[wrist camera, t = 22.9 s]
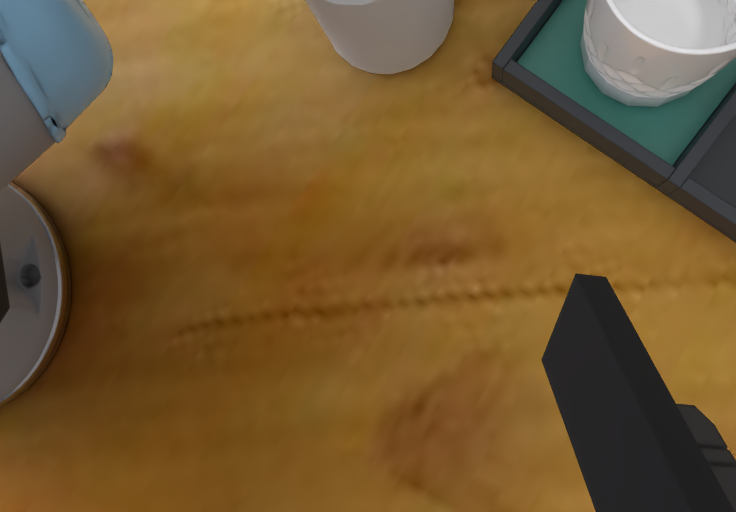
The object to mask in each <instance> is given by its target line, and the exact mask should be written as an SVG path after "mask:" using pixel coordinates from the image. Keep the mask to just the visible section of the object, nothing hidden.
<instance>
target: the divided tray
mask: <svg viewBox="0 0 736 512" xmlns="http://www.w3.org/2000/svg"><path fill="white" fill-rule="evenodd" d="M586 2H587V0H538V1H537V2H536V3H535V5H534V6H533V7H532V9H531V10H530V11H529V13H528V14H527V15H526V17H525V18H524V19H523V21H522V22H521V23H520V25H519V26H518V28H517V29H516V30H515V32H514V33H513V34H512V36H511V37H510V38H509V40H508V41H507V42H506V44H505V45H504V46H503V48H502V49H501V50H500V52H499V53H498V55H497V56H496V57H495V59H494V60H493V63H492V78H493V79H495V80H496V81H498V82H499V83H501V84H502V85H503V86H505V87H506V88H508V89H509V90H511V91H512V92H514V93H515V94H517V95H518V96H520V97H521V98H523V99H524V100H526V101H527V102H529V103H530V104H532V105H533V106H535V107H536V108H538V109H539V110H541V111H542V112H543V113H545V114H546V115H548V116H549V117H551V118H552V119H554V120H555V121H557V122H558V123H560V124H561V125H563V126H564V127H566V128H567V129H569V130H570V131H572V132H573V133H575V134H576V135H578V136H579V137H581V138H582V139H583V140H585V141H586V142H588V143H589V144H591V145H592V146H594V147H595V148H597V149H598V150H600V151H601V152H603V153H604V154H606V155H607V156H609V157H610V158H612V159H613V160H615V161H616V162H618V163H619V164H621V165H622V166H624V167H625V168H626V169H628V170H629V171H631V172H632V173H634V174H635V175H637V176H638V177H640V178H641V179H643V180H644V181H646V182H647V183H649V184H650V185H652V186H653V187H655V188H656V189H658V190H659V191H661V192H662V193H664V194H665V195H666V196H668V197H669V198H671V199H672V200H674V201H675V202H677V203H678V204H680V205H681V206H683V207H684V208H686V209H687V210H689V211H690V212H692V213H693V214H695V215H696V216H698V217H699V218H701V219H702V220H704V221H705V222H706V223H708V224H709V225H711V226H712V227H714V228H715V229H717V230H718V231H720V232H721V233H723V234H724V235H726V236H727V237H729V238H730V239H732V240H733V241H735V242H736V59H735V60H733V61H732V62H731V63H730V64H728V65H727V66H726V67H725V68H723V69H722V70H720V71H719V72H717V73H716V74H715V75H713V76H712V77H711V78H710V79H708V80H707V81H705V82H703V83H702V84H700V85H699V86H697V87H695V88H694V89H693V90H692V91H691V92H689V93H688V94H687V95H685V96H683V97H681V98H678V99H676V100H673V101H671V102H668V103H666V104H663V105H661V106H659V107H645V106H627V105H625V104H623V103H621V102H619V101H617V100H615V99H613V98H611V97H609V96H607V95H604V94H603V93H601V92H600V90H599V89H598V88H597V86H596V85H595V84H594V82H593V81H592V80H591V78H590V77H589V76H588V75H587V73H586V72H585V69H584V64H583V58H582V52H581V47H580V41H581V37H582V33H583V27H584V14H585V8H586Z"/></svg>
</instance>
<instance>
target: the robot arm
mask: <svg viewBox="0 0 736 512" xmlns="http://www.w3.org/2000/svg"><path fill="white" fill-rule="evenodd" d="M112 68H113V54H112V49H111V46H110V43H109V41H108V39H107V37H106V35H105V33H104V31H103V30H102V28H101V27H100V25H99V23H98V22H97V20H96V19H95V17H94V16H93V14H92V13H91V12H90V10H89V9H88V7H87V6H86V5H85V3H84V2H83V0H0V406H2V405H4V404H6V403H8V402H9V401H11V400H13V399H14V398H16V397H17V396H18V395H20V394H21V393H22V392H24V391H25V390H26V389H27V388H28V387H30V386H31V385H32V383H33V382H34V381H35V380H36V379H37V378H38V377H39V376H40V375H41V373H42V372H43V371H44V370H45V368H46V367H47V365H48V364H49V362H50V361H51V359H52V358H53V356H54V354H55V352H56V350H57V348H58V346H59V344H60V341H61V339H62V336H63V333H64V330H65V327H66V324H67V319H68V314H69V309H70V301H71V276H70V268H69V262H68V258H67V254H66V250H65V247H64V244H63V241H62V239H61V236H60V234H59V232H58V230H57V228H56V226H55V224H54V223H53V221H52V219H51V218H50V216H49V215H48V214H47V212H46V211H45V209H44V208H43V207H42V206H41V205H40V204H39V203H38V202H37V201H36V200H35V199H34V198H33V197H32V196H31V195H30V194H29V193H27V192H26V191H25V190H23V189H22V188H21V187H19V186H17V185H16V184H14V183H12V182H11V181H12V180H14V179H15V178H16V177H17V176H18V175H19V174H20V173H21V172H23V171H24V170H25V169H26V168H27V167H28V166H29V165H30V164H31V163H33V162H34V161H35V160H36V159H37V158H38V157H39V156H40V155H42V154H43V153H44V152H45V151H46V150H47V149H48V148H49V147H51V146H52V145H53V144H54V143H55V142H56V143H59V142H61V141H62V140H63V138H64V137H65V135H66V128H67V127H68V126H69V125H70V124H71V123H72V122H73V121H74V120H75V119H76V118H77V117H78V116H79V115H80V114H81V113H82V112H83V111H84V110H85V109H86V108H87V107H88V106H89V105H90V104H91V103H92V102H93V101H94V100H95V99H96V98H97V97H98V96H99V95H100V94H101V93H102V92H103V91H104V89H105V88H106V86H107V84H108V82H109V81H110V78H111V75H112ZM542 363H543V365H544V368H545V371H546V374H547V377H548V379H549V382H550V385H551V388H552V391H553V393H554V396H555V399H556V402H557V405H558V407H559V410H560V413H561V416H562V418H563V421H564V424H565V427H566V430H567V432H568V435H569V438H570V441H571V444H572V446H573V449H574V452H575V455H576V457H577V460H578V463H579V466H580V469H581V471H582V474H583V477H584V480H585V483H586V485H587V488H588V491H589V494H590V497H591V499H592V502H593V505H594V508H595V510H596V512H736V460H735V459H734V457H733V455H732V454H731V452H730V451H729V450H727V445H726V444H725V442H724V440H723V439H722V437H721V435H720V433H719V432H718V430H717V428H716V427H715V425H714V424H713V423H712V422H711V421H710V420H709V419H708V418H707V417H706V416H705V415H704V414H703V413H702V412H700V411H699V410H698V409H697V408H696V407H695V406H694V405H685V404H676V403H675V401H674V400H673V398H672V396H671V394H670V392H669V391H668V389H667V387H666V385H665V383H664V381H663V380H662V378H661V376H660V374H659V372H658V370H657V369H656V367H655V365H654V363H653V361H652V360H651V358H650V356H649V354H648V352H647V350H646V349H645V347H644V345H643V343H642V341H641V340H640V338H639V336H638V334H637V332H636V330H635V329H634V327H633V325H632V323H631V321H630V320H629V318H628V316H627V314H626V312H625V310H624V309H623V307H622V305H621V303H620V301H619V300H618V298H617V296H616V294H615V292H614V290H613V289H612V287H611V285H610V283H609V281H608V279H607V278H606V277H601V276H592V275H584V274H575V277H574V279H573V282H572V284H571V287H570V289H569V292H568V294H567V297H566V299H565V302H564V304H563V307H562V309H561V312H560V314H559V317H558V319H557V322H556V324H555V327H554V330H553V332H552V335H551V337H550V340H549V342H548V345H547V347H546V350H545V352H544V355H543V357H542Z"/></svg>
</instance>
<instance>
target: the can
mask: <svg viewBox="0 0 736 512" xmlns="http://www.w3.org/2000/svg"><path fill="white" fill-rule="evenodd" d="M305 1H306V3H307V4H308V6H309V8H310V9H311V11H312V13H313V14H314V16H315V18H316V19H317V21H318V22H319V24H320V26H321V27H322V29H323V31H324V32H325V34H326V36H327V37H328V39H329V41H330V42H331V44H332V45H333V47H334V49H335V50H336V52H337V54H339V55H340V56H341V57H342V58H343V59H345V60H346V61H347V62H348V63H349V64H351V65H352V66H354V67H356V68H359V69H361V70H364V71H367V72H369V73H377V74H394V73H398V72H402V71H405V70H409V69H412V68H414V67H416V66H417V65H419V64H420V63H422V62H423V61H425V60H427V59H428V58H430V57H431V56H432V55H433V53H434V52H435V51H436V50H437V49H438V48H439V46H440V45H441V44H442V43H443V42H444V40H445V38H446V36H447V33H448V31H449V29H450V26H451V24H452V22H453V12H454V0H305Z"/></svg>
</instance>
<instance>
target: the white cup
mask: <svg viewBox="0 0 736 512" xmlns="http://www.w3.org/2000/svg"><path fill="white" fill-rule="evenodd" d="M580 47H581V52H582V58H583V64H584V69H585V72H586V73H587V75H588V76H589V77H590V78H591V80H592V81H593V82H594V84H595V85H596V86H597V88H598V89H599V90H600V92H601V93H603V94H604V95H607V96H609V97H611V98H613V99H615V100H617V101H619V102H621V103H623V104H625V105H627V106H645V107H659V106H661V105H663V104H666V103H668V102H671V101H673V100H676V99H678V98H681V97H683V96H685V95H687V94H688V93H689V92H691V91H692V90H693V89H694V88H695V87H697V86H699V85H700V84H702V83H703V82H705V81H707V80H708V79H710V78H711V77H712V76H713V75H715V74H716V73H717V72H719V71H720V70H722V69H723V68H725V67H726V66H727V65H728V64H730V63H731V62H732V61H733V60H735V59H736V0H587V2H586V8H585V14H584V27H583V33H582V37H581V41H580Z"/></svg>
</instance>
